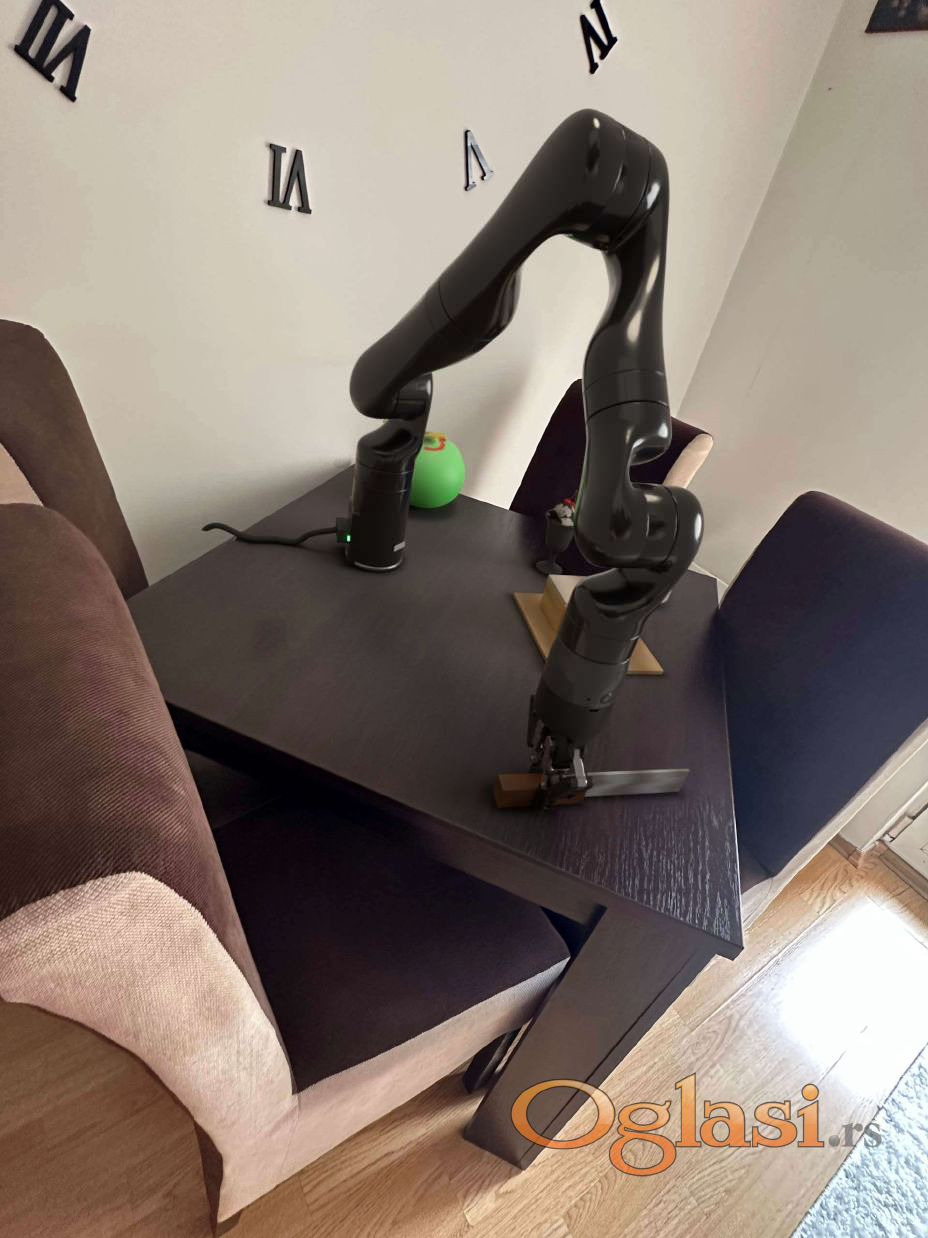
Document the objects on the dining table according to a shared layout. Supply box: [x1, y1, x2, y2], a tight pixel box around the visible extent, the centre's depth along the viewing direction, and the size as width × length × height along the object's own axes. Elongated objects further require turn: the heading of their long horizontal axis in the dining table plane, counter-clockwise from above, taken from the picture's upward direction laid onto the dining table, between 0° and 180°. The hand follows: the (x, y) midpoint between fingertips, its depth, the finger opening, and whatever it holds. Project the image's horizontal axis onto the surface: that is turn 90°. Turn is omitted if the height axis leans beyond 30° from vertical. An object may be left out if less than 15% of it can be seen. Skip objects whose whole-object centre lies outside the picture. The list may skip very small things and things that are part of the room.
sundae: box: [535, 489, 579, 576], centre depth 114 cm, size 7×7×15 cm
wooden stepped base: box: [512, 574, 664, 676], centre depth 100 cm, size 18×20×7 cm
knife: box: [492, 768, 690, 809], centre depth 73 cm, size 23×2×4 cm, turn 103°
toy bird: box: [382, 419, 466, 509], centre depth 128 cm, size 18×17×15 cm
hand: (537, 797), depth 72 cm, fingers closed on knife, 2 cm apart
